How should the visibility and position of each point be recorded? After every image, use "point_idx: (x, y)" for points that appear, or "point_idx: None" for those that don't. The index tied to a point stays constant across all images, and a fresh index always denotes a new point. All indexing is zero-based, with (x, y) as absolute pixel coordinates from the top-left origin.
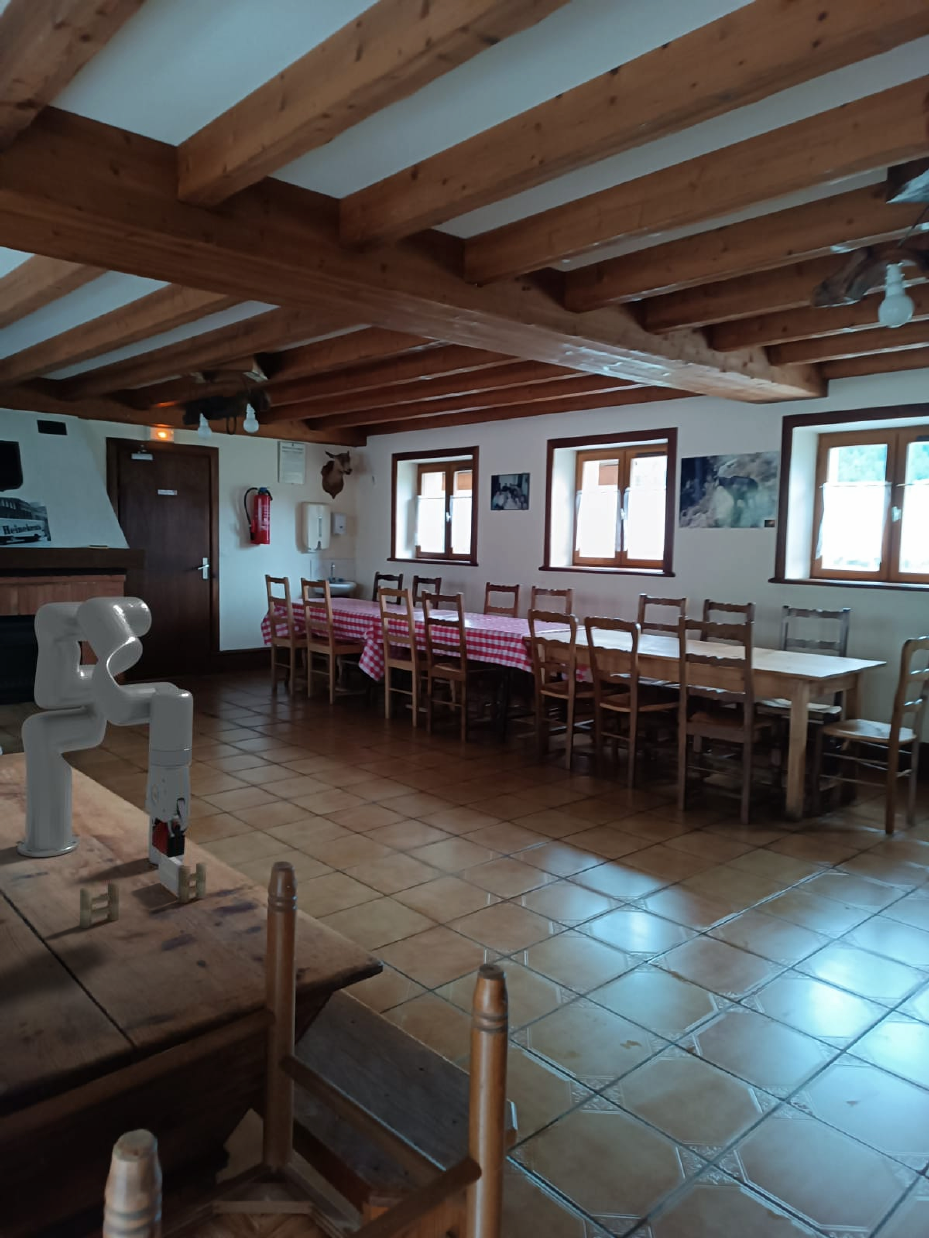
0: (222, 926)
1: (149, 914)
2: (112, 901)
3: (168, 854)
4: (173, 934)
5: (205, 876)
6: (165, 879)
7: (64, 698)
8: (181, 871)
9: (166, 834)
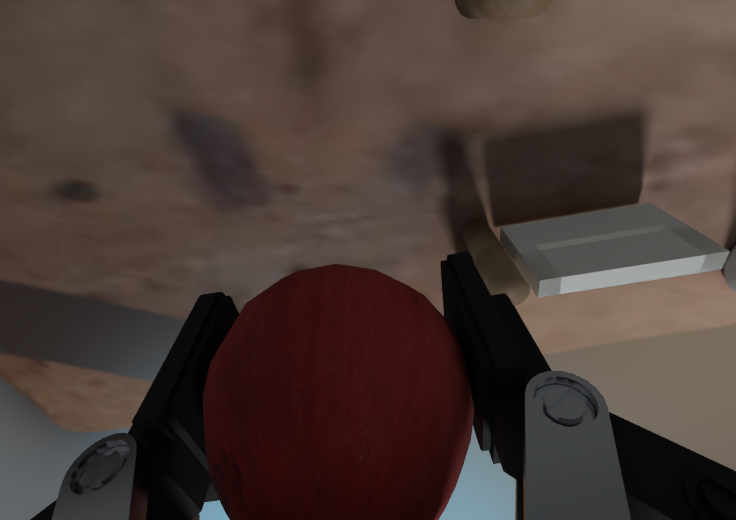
0: None
1: (442, 127)
2: None
3: (196, 309)
4: (276, 162)
5: None
6: (604, 219)
7: None
8: (500, 277)
9: (207, 421)
